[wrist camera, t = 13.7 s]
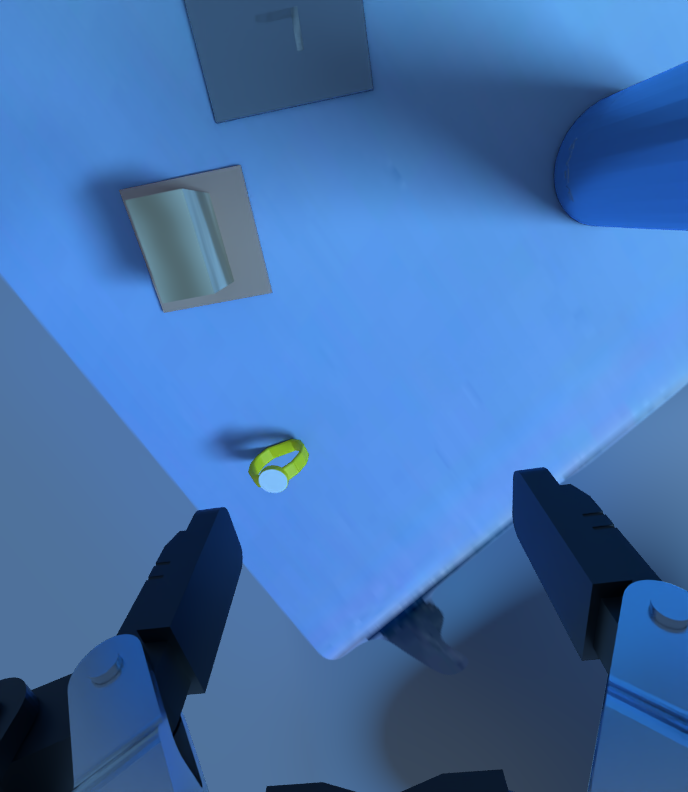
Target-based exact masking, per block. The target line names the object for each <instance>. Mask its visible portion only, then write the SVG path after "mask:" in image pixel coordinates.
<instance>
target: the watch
mask: <svg viewBox="0 0 688 792" xmlns="http://www.w3.org/2000/svg"><path fill="white" fill-rule="evenodd" d="M295 450H297V451H299V453H298V454H297V455H296V457H295V458H294V459H293V460H292V461H291V462H290V463H288V464H287V465H285V466H284V467H279V466H274V465H272V466H267V467H265V468H264V469H263V470H262V468H263V467H264V466H265V465H266V464H267V463H269V462H270V461H271V460H273V459H274V458H276V457H279V456H282V455H284V454H287V453H290V452H292V451H295ZM308 457H309V453H308V452H307V450H306V448H305V446H304V444H303V443H302V442H301V440H297V439H290V440H287V441H285V442H282V443H279V444H277V445H274V446H271V447H268V448H266V449H265V450H264V451H262V452H261V453H260V454H258V456H256V458H255V459H254V460H253V461H252V462H251V464H250V467H249V471H248V472H249V474H250V476H251V478H252V479H253V481H254V482H255V484H256V485H257V486H258V487H262V488H263V489H264V490H265V491H267V492H270V493H279V492H282V491H284V490H285V489H286V488H287V485H288V482H289V480H290V479H291V478H292V477H294V476H295V475H297V474H298V472H300V471H301V470H302V469H303V467H304V466H305V465H306V463H307V461H308ZM261 470H262V471H261ZM260 471H261V473H260V475H258V474H259V472H260Z"/></svg>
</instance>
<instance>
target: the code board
mask: <svg viewBox="0 0 688 792" xmlns="http://www.w3.org/2000/svg"><path fill="white" fill-rule="evenodd" d="M184 1H185V5H186V9H187V13H188V16H189V20H190V24H191V28H192V32H193V36H194V39H195V43H196V47H197V51H198V55H199V59H200V63H201V66H202V70H203V74H204V78H205V82H206V86H207V89H208V93H209V97H210V101H211V105H212V109H213V112H214V116H215V120H216V123H221V122H226V121H230V120H235V119H240V118H244V117H249V116H254V115H258V114H263V113H267V112H272V111H277V110H281V109H286V108H291V107H295V106H300V105H305V104H309V103H314V102H318V101H323V100H328V99H332V98H337V97H342V96H346V95H351V94H356V93H360V92H365V91H370V90H373V84H372V75H371V67H370V59H369V50H368V42H367V34H366V25H365V17H364V9H363V0H184Z"/></svg>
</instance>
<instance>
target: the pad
mask: <svg viewBox="0 0 688 792" xmlns="http://www.w3.org/2000/svg"><path fill="white" fill-rule="evenodd" d="M177 189H188V190H194V191H199V192H205V193H209V194H210V198H211V201H212V205H213V208H214V212H215V215H216V219H217V222H218V226H219V229H220V233H221V236H222V240H223V244H224V247H225V251H226V254H227V258H228V261H229V265H230V268H231V272H232V275H233V279H234V282H233V283H231V284H229V285H228V286H226V287H225V288H223V289H221V290H220V291H218V292H216V293H215V294H210V295H205V296H200V297H194V298H189V299H184V300H178V301H173V302H168V303H162V300H161V297H160V295H159V292H158V289H157V286H156V284H155V281H154V278H153V275H152V273H151V270H150V267H149V264H148V262H147V259H146V256H145V254H144V251H143V248H142V245H141V243H140V240H139V237H138V234H137V232H136V229H135V226H134V223H133V221H132V218H131V215H130V212H129V210H128V207H127V204H126V201H125V200H129V199H134V198H139V197H143V196H148V195H153V194H158V193H163V192H168V191H173V190H177ZM119 192H120V194H121V197H122V200H123V202H124V205H125V208H126V211H127V213H128V216H129V219H130V222H131V224H132V227H133V230H134V232H135V235H136V238H137V241H138V243H139V246H140V249H141V252H142V254H143V257H144V260H145V262H146V265H147V268H148V271H149V273H150V276H151V279H152V282H153V284H154V287H155V290H156V292H157V295H158V298H159V301H160V303H161V306H162V309H163V312H164V313H165V312H171V311H176V310H182V309H187V308H192V307H198V306H203V305H209V304H214V303H219V302H225V301H230V300H236V299H241V298H247V297H252V296H257V295H263V294H268V293H272V289H271V285H270V281H269V277H268V273H267V269H266V265H265V261H264V257H263V253H262V249H261V245H260V241H259V237H258V233H257V229H256V225H255V221H254V217H253V213H252V209H251V205H250V201H249V197H248V193H247V189H246V185H245V181H244V176H243V172H242V168H241V165H237V166H232V167H228V168H223V169H218V170H213V171H208V172H204V173H199V174H194V175H189V176H184V177H179V178H175V179H170V180H165V181H160V182H155V183H151V184H146V185H141V186H136V187H131V188H126V189H122V190H119Z"/></svg>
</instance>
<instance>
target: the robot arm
mask: <svg viewBox="0 0 688 792" xmlns="http://www.w3.org/2000/svg"><path fill="white" fill-rule="evenodd" d="M554 179H555V190H556V193H557V197H558V200H559V202H560V204H561V205H562V207H563V209H564V210H565V211H566V212H567V213H568V214H569V215H570V217H571V218H573V219H575V220H576V221H578V222H580V223H582V224H586V225H590V226H602V227H622V228H638V229H661V230H684V231H688V61H687V62H685V63H683V64H680V65H678V66H676V67H674V68H671V69H669V70H667V71H665V72H662V73H660V74H658V75H656V76H653V77H651V78H649V79H646V80H644V81H642V82H639V83H637V84H635V85H633V86H631V87H628V88H626V89H624V90H622V91H619V92H617V93H615V94H613V95H611V96H608V97H606V98H604V99H602V100H600V101H599V102H597V103H596V104H594V105H593V106H591V107H590V108H588V109H587V110H586V111H585V112H584V113H583V114H582V115H581V116H580V117H579V118H578V119H577V120H576V122H575V123H574V124H573V126H572V127H571V128H570V130H569V131H568V133H567V135H566V137H565V139H564V140H563V142H562V144H561V146H560V150H559V153H558V156H557V159H556V165H555V173H554ZM512 515H513V523H514V528H515V531H516V534H517V537H518V539H519V541H520V543H521V545H522V547H523V549H524V551H525V552H526V554H527V556H528V558H529V560H530V562H531V564H532V566H533V568H534V570H535V572H536V574H537V576H538V577H539V579H540V581H541V583H542V585H543V587H544V589H545V591H546V593H547V595H548V597H549V599H550V600H551V602H552V604H553V606H554V608H555V610H556V612H557V614H558V616H559V618H560V620H561V622H562V624H563V626H564V627H565V629H566V631H567V633H568V635H569V637H570V639H571V641H572V643H573V645H574V647H575V649H576V651H577V653H578V654H579V656H580V658H581V660H582V661H584V660H595V659H600V660H601V662H602V664H603V666H604V668H605V669H606V671H607V673H608V677H607V682H606V688H605V694H604V700H603V706H602V711H601V717H600V723H599V729H598V734H597V740H596V746H595V752H594V758H593V763H592V769H591V775H590V781H589V786H588V791H587V792H688V591H686V590H684V589H682V588H680V587H678V586H675V585H672V584H670V583H666V582H663V581H662V580H661V579H660V578H659V577H658V576H657V575H656V574H655V572H654V571H653V570H652V569H651V568H650V567H649V565H648V564H647V563H646V562H645V561H644V559H643V558H642V557H641V556H640V555H639V554H638V552H637V551H636V550H635V549H634V548H633V546H632V545H631V544H630V543H629V542H628V541H627V539H626V538H625V537H624V536H623V535H622V533H621V532H620V531H619V530H618V529H617V528H615V527H614V524H613V523H612V522H611V520H610V519H609V518H608V517H607V516H606V515H604V514H603V511H602V510H601V509H600V507H599V506H598V505H597V504H596V503H595V502H594V500H593V499H592V498H591V497H590V496H589V495H587V494H586V493H584V492H583V491H581V490H579V489H578V488H576V487H574V486H573V485H571V484H567V485H559V484H558V482H557V481H556V480H555V478H554V477H553V476H552V474H551V473H550V472H549V471H548V469H546V468H544V467H542V468H534V469H526V470H519V471H515V472H514V475H513V511H512ZM241 569H242V549H241V545H240V542H239V540H238V537H237V534H236V531H235V529H234V526H233V523H232V521H231V518H230V515H229V513H228V511H227V509H226V508H225V507H221V508H213V509H205V510H198V511H197V512H196V513H195V514H194V516H193V518H192V520H191V522H190V524H189V526H188V528H187V530H186V531H180V532H179V533H177V535H175V537H174V538H173V539H172V540H171V541H170V542H169V543H168V544H167V545H166V546H165V547H164V549H163V551H162V553H161V554H160V557H159V558H158V560H157V562H156V566H154V567H153V569H152V571H151V573H150V575H149V579H148V580H147V581H146V582H145V584H144V586H143V588H142V589H141V591H140V593H139V595H138V597H137V599H136V601H135V602H134V604H133V606H132V608H131V610H130V612H129V614H128V615H127V618H126V619H125V621H124V623H123V625H122V626H121V628H120V630H119V632H118V634H117V635H116V636H114V637H112V638H109V639H107V640H106V641H104V642H102V643H101V644H99V645H98V646H96V647H95V648H94V649H93V650H91V651H90V652H89V653H88V654H87V655H86V656H85V657H84V658H83V659H82V660H81V662H80V663H79V664H78V666H77V667H76V668H75V670H74V672H73V673H72V674H70V675H68V676H65V677H63V678H60V679H58V680H55V681H53V682H51V683H48V684H46V685H43V686H41V687H38V688H36V689H33V690H30V688H29V687H28V686H27V685H26V684H25V682H24V681H23V680H21V679H19V678H7V679H3V680H0V792H209V790H208V787H207V784H206V781H205V778H204V775H203V772H202V769H201V766H200V763H199V760H198V757H197V754H196V750H195V747H194V744H193V741H192V739H191V735H190V732H189V729H188V726H187V723H186V720H185V717H184V715H183V713H182V709H183V705H184V702H185V700H186V696H187V695H189V694H201V693H205V691H206V688H207V685H208V681H209V678H210V674H211V671H212V668H213V664H214V660H215V657H216V654H217V651H218V647H219V644H220V640H221V637H222V633H223V630H224V627H225V623H226V620H227V617H228V613H229V610H230V606H231V603H232V600H233V596H234V593H235V589H236V586H237V582H238V579H239V576H240V572H241ZM266 792H355V791H351V790H347V789H344V788H341V787H337V786H333V785H330V784H327V783H323V782H320V783H306V784H294V785H278V786H267V788H266ZM402 792H513V791H510V790H508V787H507V784H506V781H505V777H504V773H503V770H488V771H474V772H460V773H447V774H441V775H439V776H436V777H434V778H432V779H429V780H427V781H425V782H423V783H420V784H418V785H416V786H413V787H411V788H409V789H407V790H404V791H402Z"/></svg>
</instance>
